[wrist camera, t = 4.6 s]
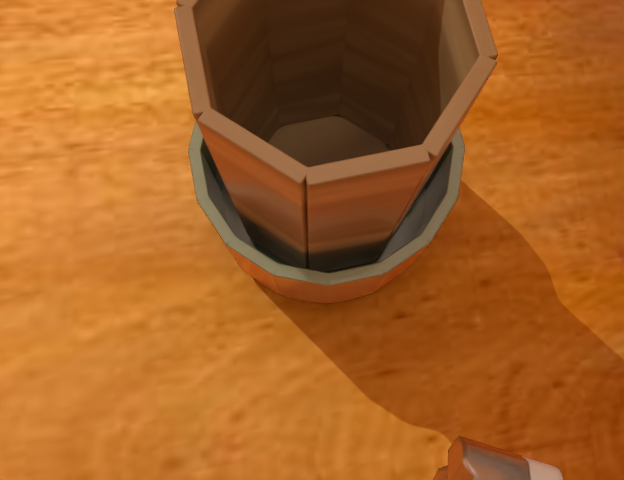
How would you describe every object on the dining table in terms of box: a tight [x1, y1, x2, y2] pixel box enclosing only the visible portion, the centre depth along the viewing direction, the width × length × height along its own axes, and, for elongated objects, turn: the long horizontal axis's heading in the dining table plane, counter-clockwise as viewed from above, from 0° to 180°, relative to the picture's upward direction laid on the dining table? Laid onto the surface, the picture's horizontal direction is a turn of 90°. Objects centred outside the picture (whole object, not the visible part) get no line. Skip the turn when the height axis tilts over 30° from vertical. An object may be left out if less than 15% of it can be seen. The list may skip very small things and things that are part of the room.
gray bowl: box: [188, 115, 465, 304], centre depth 21 cm, size 9×9×5 cm
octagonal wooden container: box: [174, 0, 498, 272], centre depth 18 cm, size 6×6×11 cm
